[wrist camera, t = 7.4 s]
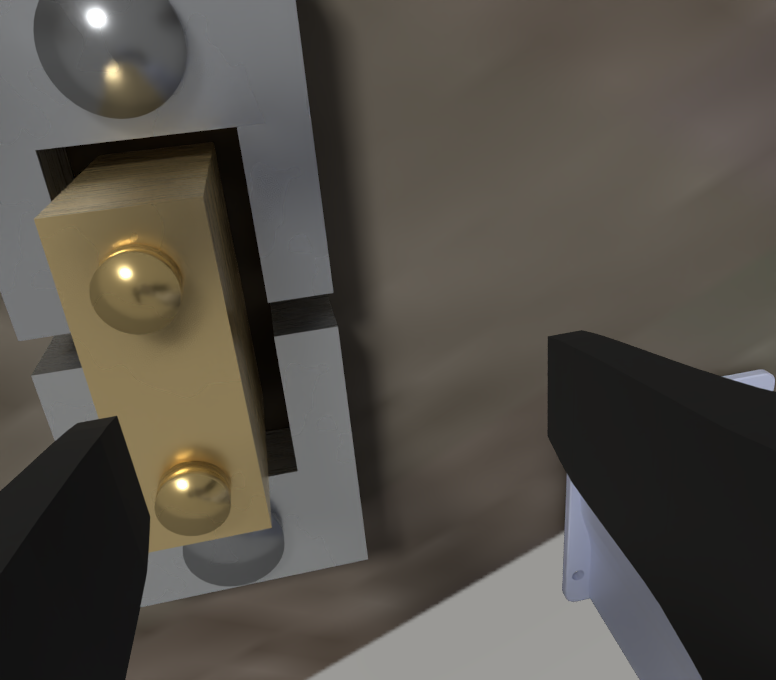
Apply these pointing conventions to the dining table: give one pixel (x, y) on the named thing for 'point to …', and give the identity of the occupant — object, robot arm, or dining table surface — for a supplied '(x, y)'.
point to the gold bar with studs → (165, 335)
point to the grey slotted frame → (271, 221)
